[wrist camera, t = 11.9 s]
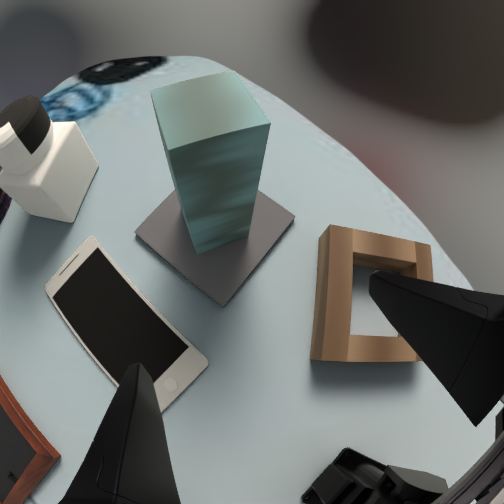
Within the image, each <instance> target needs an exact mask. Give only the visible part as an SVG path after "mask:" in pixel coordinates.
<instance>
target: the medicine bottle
mask: <svg viewBox="0 0 504 504" xmlns="http://www.w3.org/2000/svg"><path fill="white" fill-rule="evenodd" d="M0 166H1V167H2V170H1V172H0V188H1V189H2V190H3V191H4V192H5V193H7V194H8V195H9V196H10V197H11V198H12V199H13V200H14V201H15V202H16V203H17V204H19V205H20V206H21V207H22V208H23V209H24V210H25V211H27V212H28V213H29V214H31V215H35V216H40V217H45V218H50V219H54V220H59V221H64V222H69V223H73V222H74V220H75V218H76V215H77V213H78V210H79V208H80V205H81V203H82V201H83V198H84V196H85V194H86V192H87V189H88V187H89V185H90V183H91V181H92V179H93V177H94V175H95V173H96V171H97V168H98V166H99V164H98V162H97V160H96V158H95V157H94V155H93V153H92V151H91V150H90V148H89V146H88V144H87V142H86V141H85V139H84V137H83V135H82V133H81V132H80V130H79V128H78V126H77V124H76V123H75V122H55V123H52V121H51V119H50V118H49V116H48V114H47V112H46V111H45V109H44V107H43V105H42V104H41V102H40V100H39V98H38V97H36V96H31V95H30V96H25V97H22V98H20V99H18V100H16V101H14V102H13V103H11V104H10V105H9V106H7V107H6V108H5V109H4V110H3V111H2V112H1V113H0Z"/></svg>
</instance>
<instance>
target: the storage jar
mask: <svg viewBox="0 0 504 504" xmlns="http://www.w3.org/2000/svg"><path fill="white" fill-rule="evenodd" d="M1 170H2V167H1V166H0V172H1ZM11 200H12V198H11V197H10V196H9V195H8V194H7V193H5V192H4V191H3V190H2V189H1V188H0V223H1V222H2V220H3V219H4V217H5V215H6V213H7V211H8V208H9V206H10V203H11Z"/></svg>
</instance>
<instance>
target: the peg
mask: <svg viewBox="0 0 504 504" xmlns="http://www.w3.org/2000/svg"><path fill="white" fill-rule="evenodd" d="M150 92H151V97H152V101H153V106H154V110H155V114H156V118H157V122H158V126H159V130H160V134H161V138H162V142H163V146H164V150H165V154H166V157H167V161H168V165H169V169H170V172H171V176H172V179H173V183H174V186H175V190H176V193H177V197H178V200H179V204H180V207H181V210H182V213H183V216H184V219H185V222H186V225H187V228H188V231H189V233H190V236H191V239H192V242H193V245H194V248H195V250H196V253H197V255H198V254H201V253H204V252H207V251H210V250H212V249H215V248H218V247H221V246H223V245H226V244H229V243H232V242H235V241H237V240H240V239H243V238H246V237H249V231H250V226H251V221H252V216H253V211H254V205H255V200H256V195H257V190H258V185H259V180H260V175H261V170H262V164H263V159H264V154H265V149H266V144H267V139H268V134H269V129H270V124H271V123H270V121H269V120H268V118H267V117H266V115H265V114H264V112H263V111H262V109H261V108H260V106H259V105H258V103H257V102H256V100H255V99H254V97H253V96H252V94H251V93H250V92H249V90H248V89H247V87H246V86H245V84H244V83H243V82H242V80H241V79H240V77H239V76H238V75H237V73H236V72H235V71H229V72H224V73H218V74H213V75H208V76H204V77H199V78H195V79H191V80H187V81H183V82H179V83H175V84H171V85H168V86H164V87H161V88H157V89H154V90H151V91H150Z"/></svg>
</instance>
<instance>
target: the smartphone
mask: <svg viewBox="0 0 504 504" xmlns="http://www.w3.org/2000/svg"><path fill="white" fill-rule="evenodd" d="M45 290H46V292H47V294H48V296H49V297H50V299H51V301H52V302H53V304H54V305H55V307H56V308H57V310H58V311H59V313H60V314H61V316H62V317H63V319H64V320H65V322H66V323H67V325H68V326H69V327H70V329H71V330H72V332H73V333H74V334H75V336H76V337H77V338H78V340H79V341H80V342H81V344H82V345H83V346H84V348H85V349H86V350H87V352H88V353H89V354H90V355H91V357H92V358H93V359H94V360H95V361H96V363H97V364H98V365H99V366H100V367H101V369H102V370H103V371H104V372H105V373H106V374H107V376H108V377H109V378H110V379H111V380H112V381H113V382H114V383H115V385H116V386H117V387H119V385H120V383H121V381H122V379H123V377H124V375H125V373H126V371H127V369H128V367H129V366H130V365H132V364H136V363H141V364H142V365H143V367H144V368H145V369H146V371H147V372H148V374H149V375H150V376H151V378H152V381H153V384H154V388H155V392H156V396H157V400H158V403H159V407H160V411H161V412H162V411H163V410H164V409H165V408H166V407H167V406H168V405H169V404H170V403H171V402H172V401H173V400H174V399H175V398H176V397H177V396H178V395H179V394H180V393H181V392H182V391H183V390H184V389H185V388H186V387H187V386H188V385H189V384H190V383H191V382H192V381H193V380H194V379H195V378H196V377H197V376H198V375H199V374H200V373H201V372H202V371H203V370H204V369H205V368H206V367H207V366H208V365H209V362H208V360H207V358H206V357H205V356H204V355H203V354H202V353H201V352H200V351H198V350H197V349H196V348H195V347H194V346H193V345H192V344H191V343H190V342H189V341H188V340H187V339H186V338H185V337H184V336H183V335H182V334H181V333H180V332H179V331H178V330H177V329H176V328H175V327H174V326H173V325H172V324H171V323H170V322H169V321H168V320H167V319H166V318H165V317H164V316H163V315H162V314H161V313H160V312H159V311H158V310H157V309H156V308H155V307H154V306H153V305H152V304H151V303H150V302H149V301H148V300H147V298H146V297H145V296H144V295H143V294H142V293H141V292H140V291H139V290H138V289H137V288H136V286H135V285H134V284H133V283H132V282H131V281H130V280H129V279H128V277H127V276H126V275H125V274H124V273H123V272H122V270H121V269H120V268H119V267H118V266H117V265H116V263H115V262H114V261H113V260H112V259H111V257H110V256H109V255H108V254H107V253H106V251H105V250H104V249H103V248H102V246H101V245H100V244H99V243H98V241H97V240H96V239H95V238H94V237H92V236H90V237H88V238H87V239H86V240H85V242H84V243H83V244H82V245H81V246H80V247H79V248H78V249H77V250H76V251H75V252H74V253H73V254H72V255H71V256H70V257H69V259H68V260H67V261H66V262H65V263H64V264H63V265H62V266H61V267H60V269H59V270H58V271H57V272H56V273H55V274H54V275H53V277H52V278H51V279H50V280H49V281H48V283H47V284H46V285H45Z"/></svg>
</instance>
